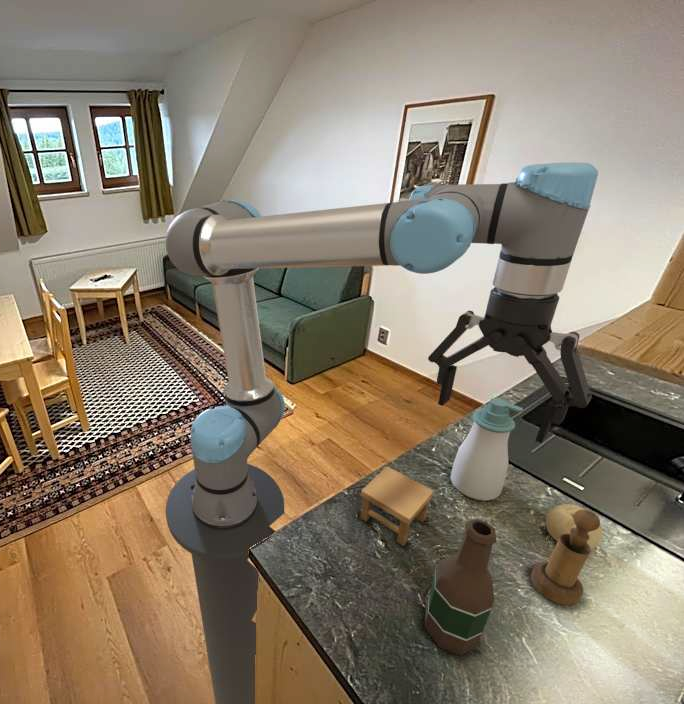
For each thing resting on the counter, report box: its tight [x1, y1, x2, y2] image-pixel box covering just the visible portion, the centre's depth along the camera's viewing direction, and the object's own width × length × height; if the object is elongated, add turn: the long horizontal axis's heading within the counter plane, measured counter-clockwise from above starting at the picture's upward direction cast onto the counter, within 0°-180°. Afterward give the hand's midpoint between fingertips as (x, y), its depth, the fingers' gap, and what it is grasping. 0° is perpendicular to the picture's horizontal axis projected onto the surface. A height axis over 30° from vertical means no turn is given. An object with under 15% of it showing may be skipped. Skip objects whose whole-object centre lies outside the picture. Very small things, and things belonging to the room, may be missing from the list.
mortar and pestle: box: [530, 508, 601, 607], centre depth 65 cm, size 7×6×18 cm
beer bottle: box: [424, 518, 497, 656], centre depth 59 cm, size 8×8×24 cm
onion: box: [544, 503, 603, 550], centre depth 75 cm, size 8×8×8 cm
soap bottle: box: [450, 397, 524, 502], centre depth 85 cm, size 10×10×23 cm
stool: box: [359, 465, 435, 547], centre depth 82 cm, size 10×10×8 cm
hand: (488, 418), depth 63 cm, fingers open, 13 cm apart
